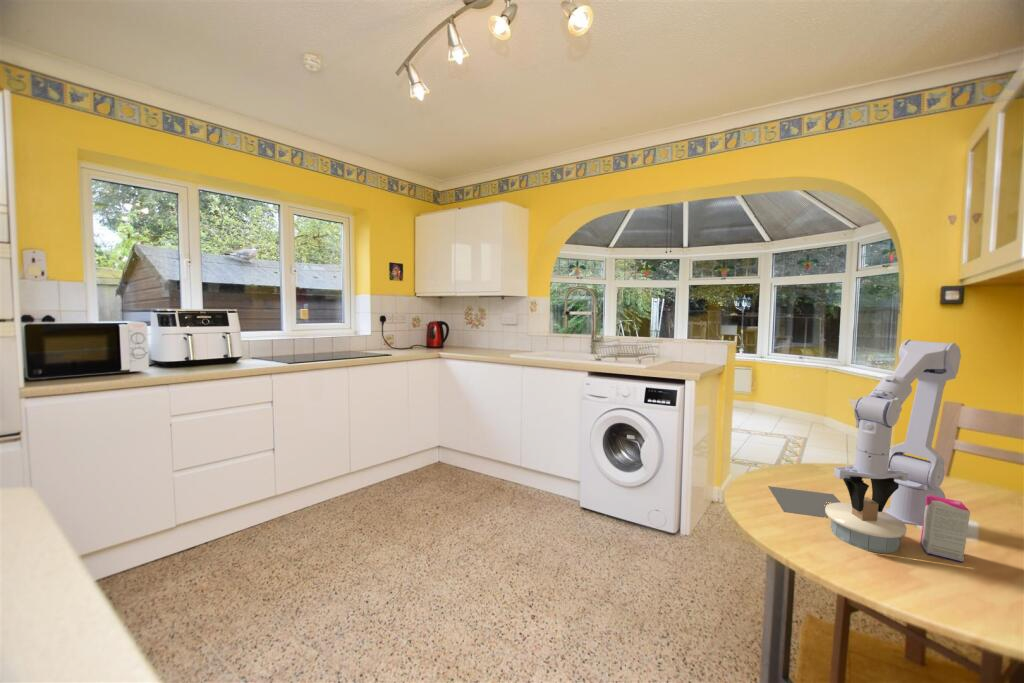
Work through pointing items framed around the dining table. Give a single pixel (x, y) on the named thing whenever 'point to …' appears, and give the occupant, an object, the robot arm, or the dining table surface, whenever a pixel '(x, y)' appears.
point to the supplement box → (945, 528)
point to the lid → (866, 519)
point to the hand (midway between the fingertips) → (866, 509)
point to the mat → (803, 501)
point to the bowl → (865, 540)
